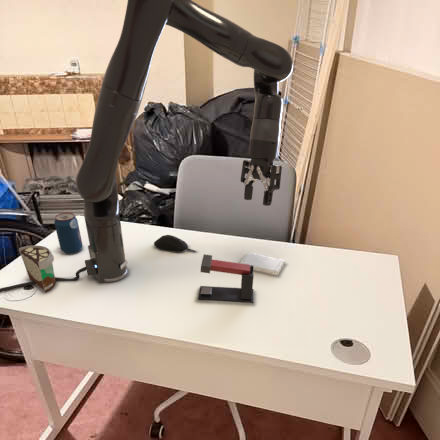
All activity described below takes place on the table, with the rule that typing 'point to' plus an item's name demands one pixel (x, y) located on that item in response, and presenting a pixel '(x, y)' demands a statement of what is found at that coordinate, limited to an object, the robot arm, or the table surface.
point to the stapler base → (230, 291)
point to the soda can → (68, 233)
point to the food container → (39, 266)
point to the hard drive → (263, 263)
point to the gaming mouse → (171, 244)
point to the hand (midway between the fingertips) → (257, 202)
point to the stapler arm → (223, 266)
